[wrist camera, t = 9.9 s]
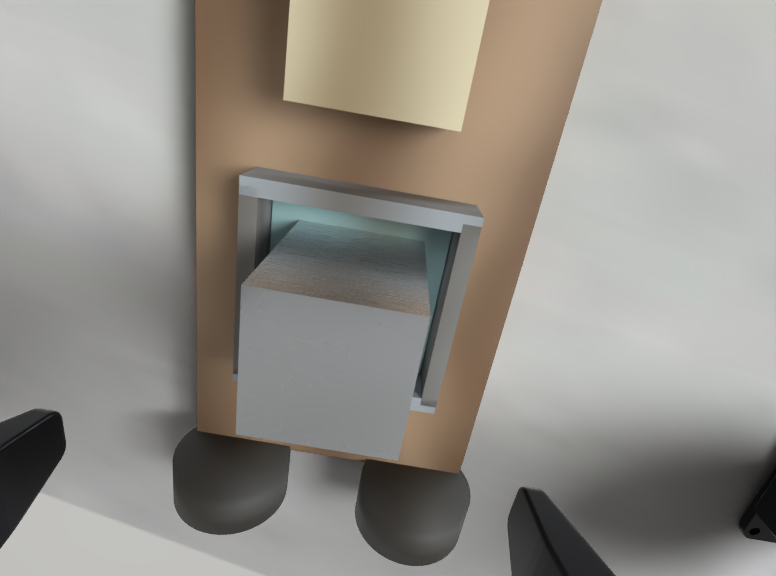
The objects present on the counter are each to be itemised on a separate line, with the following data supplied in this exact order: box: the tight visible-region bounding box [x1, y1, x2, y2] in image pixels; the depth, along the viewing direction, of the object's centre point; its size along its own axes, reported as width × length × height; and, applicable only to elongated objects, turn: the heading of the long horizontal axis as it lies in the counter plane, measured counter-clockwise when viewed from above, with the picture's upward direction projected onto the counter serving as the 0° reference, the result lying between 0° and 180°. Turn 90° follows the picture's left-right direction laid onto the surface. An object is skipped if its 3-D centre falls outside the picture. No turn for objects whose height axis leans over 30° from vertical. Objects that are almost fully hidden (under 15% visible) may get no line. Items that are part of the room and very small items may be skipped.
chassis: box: [173, 0, 602, 566], centre depth 16 cm, size 13×25×5 cm, turn 171°
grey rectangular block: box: [236, 220, 431, 461], centre depth 14 cm, size 4×4×6 cm
